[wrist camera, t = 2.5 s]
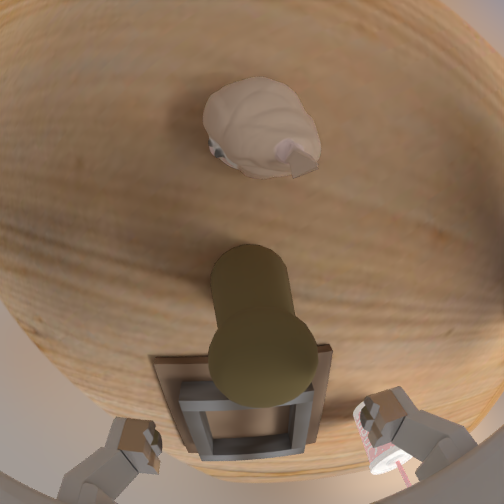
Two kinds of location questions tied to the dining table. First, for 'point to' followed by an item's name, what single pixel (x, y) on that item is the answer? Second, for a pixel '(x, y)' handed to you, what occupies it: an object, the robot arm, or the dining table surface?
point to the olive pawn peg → (258, 331)
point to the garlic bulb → (261, 129)
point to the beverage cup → (382, 452)
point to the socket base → (239, 413)
